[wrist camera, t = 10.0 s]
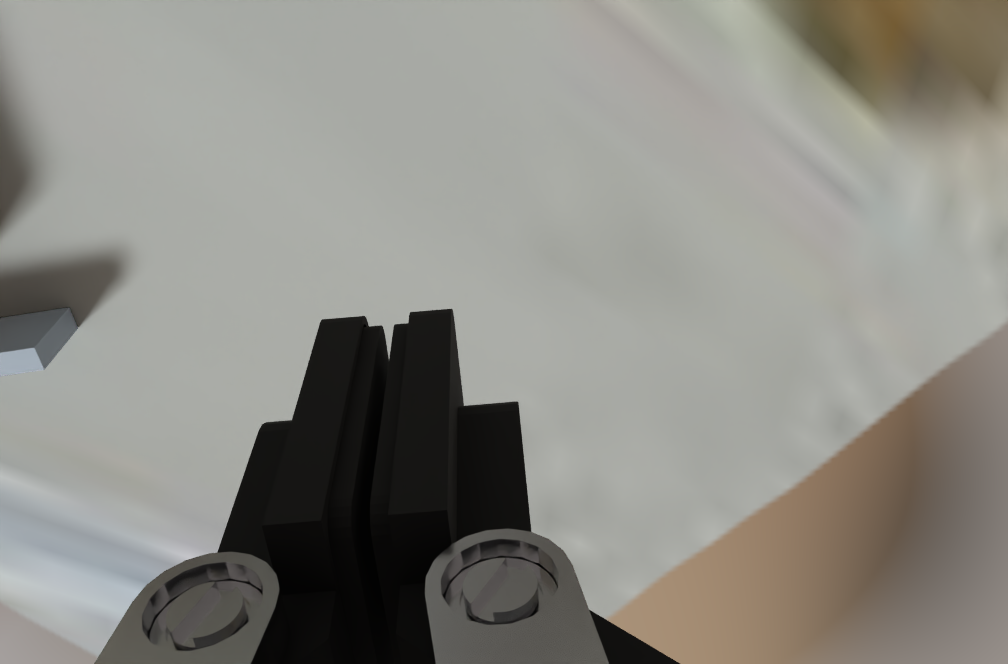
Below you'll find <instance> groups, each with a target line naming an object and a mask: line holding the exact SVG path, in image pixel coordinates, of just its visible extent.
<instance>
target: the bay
mask: <svg viewBox="0 0 1008 664" xmlns="http://www.w3.org/2000/svg"><path fill="white" fill-rule="evenodd" d="M77 329H78V327H77V325H76V322H75V320H74V317H73V315H72V313H71V310H70V308H69V307H68V308H62V309H55V310H49V311H42V312H36V313H29V314H22V315H16V316H9V317H3V318H0V376H6V375H13V374H20V373H26V372H33V371H40V370H44V369H45V368H46V367H47V366H48V365H49V363H50V362H51V361H52V360H53V358H54V357H55V356H56V355H57V353H58V352H59V351H60V350H61V349H62V347H63V346H64V345H65V344H66V342H67V341H68V340H69V339H70V337H71V336H72V335H73V334H74V333H75V331H76V330H77Z"/></svg>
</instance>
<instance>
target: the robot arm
mask: <svg viewBox="0 0 1008 664" xmlns="http://www.w3.org/2000/svg"><path fill="white" fill-rule="evenodd" d="M94 664H680V663H678V662H676V661H675V660H673V659H671V658H670V657H668V656H666V655H664V654H663V653H661V652H659V651H658V650H656V649H654V648H653V647H651V646H649V645H648V644H646V643H644V642H643V641H641V640H639V639H638V638H636V637H634V636H632V635H631V634H629V633H627V632H626V631H624V630H622V629H621V628H619V627H617V626H616V625H614V624H612V623H611V622H609V621H607V620H606V619H604V618H602V617H601V616H599V615H597V614H595V613H594V612H592V611H590V610H589V608H588V605H587V603H586V600H585V597H584V595H583V592H582V589H581V587H580V584H579V581H578V578H577V576H576V573H575V570H574V568H573V565H572V564H571V562H570V560H569V559H568V557H567V555H566V554H565V552H564V551H563V550H562V549H561V548H560V547H558V546H557V545H556V544H554V543H553V542H552V541H551V540H549V539H547V538H545V537H542V536H540V535H537V534H535V533H532V532H531V524H530V514H529V504H528V494H527V484H526V474H525V464H524V454H523V444H522V434H521V424H520V414H519V405H518V402H506V403H494V404H482V405H470V406H464V403H463V394H462V385H461V376H460V367H459V358H458V349H457V340H456V331H455V323H454V315H453V310H452V309H444V310H432V311H420V312H410V315H409V323H407V324H395V325H394V330H393V337H392V344H391V352H390V359H389V358H388V352H387V345H386V339H385V333H384V329H383V327H382V326H371V327H369V326H368V322H367V319H366V317H365V316H359V317H347V318H335V319H323V320H321V322H320V325H319V329H318V332H317V335H316V339H315V342H314V346H313V349H312V353H311V356H310V360H309V363H308V367H307V370H306V374H305V377H304V380H303V384H302V387H301V391H300V394H299V398H298V401H297V405H296V408H295V412H294V415H293V419H292V420H290V421H278V422H266V423H264V424H262V426H261V428H260V430H259V432H258V435H257V438H256V440H255V443H254V446H253V449H252V452H251V455H250V458H249V461H248V464H247V467H246V470H245V473H244V476H243V479H242V482H241V485H240V488H239V491H238V494H237V496H236V499H235V502H234V505H233V508H232V511H231V514H230V517H229V520H228V523H227V526H226V529H225V532H224V535H223V538H222V541H221V544H220V547H219V550H218V552H217V553H209V554H206V555H202V556H199V557H195V558H192V559H189V560H186V561H184V562H182V563H180V564H178V565H176V566H174V567H172V568H170V569H168V570H166V571H164V572H163V573H162V574H160V575H159V576H158V577H156V578H155V579H154V580H152V581H151V582H150V583H149V584H147V585H146V586H145V587H144V589H143V590H142V591H141V592H140V593H139V595H138V596H137V597H136V598H135V600H134V601H133V602H132V604H131V605H130V607H129V608H128V610H127V612H126V613H125V615H124V616H123V618H122V620H121V621H120V623H119V624H118V626H117V628H116V629H115V631H114V633H113V634H112V636H111V637H110V639H109V641H108V642H107V644H106V645H105V647H104V649H103V650H102V652H101V654H100V655H99V657H98V658H97V660H96V662H95V663H94Z"/></svg>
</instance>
